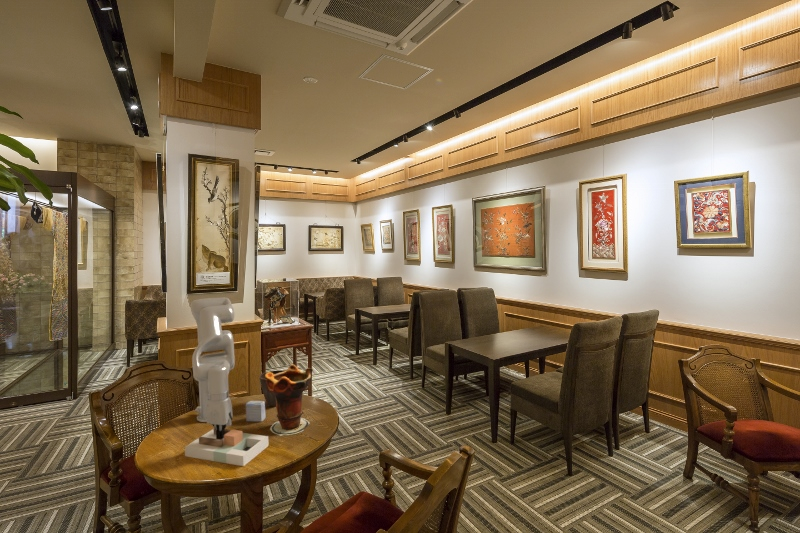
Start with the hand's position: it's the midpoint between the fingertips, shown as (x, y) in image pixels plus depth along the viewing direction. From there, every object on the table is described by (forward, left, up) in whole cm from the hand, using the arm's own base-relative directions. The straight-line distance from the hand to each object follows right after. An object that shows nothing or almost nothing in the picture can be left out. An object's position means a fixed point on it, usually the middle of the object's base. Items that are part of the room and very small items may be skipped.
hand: (220, 438), depth 164 cm
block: (+7, 0, -1) cm, 7 cm away
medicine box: (-4, +28, -5) cm, 29 cm away
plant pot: (-6, +47, -5) cm, 48 cm away
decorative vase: (+16, +26, -5) cm, 31 cm away
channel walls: (-1, 0, -1) cm, 1 cm away
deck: (+3, 0, -5) cm, 6 cm away
